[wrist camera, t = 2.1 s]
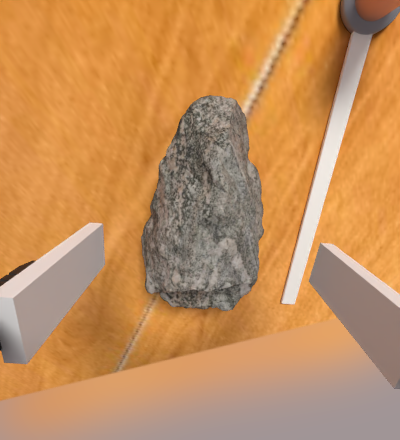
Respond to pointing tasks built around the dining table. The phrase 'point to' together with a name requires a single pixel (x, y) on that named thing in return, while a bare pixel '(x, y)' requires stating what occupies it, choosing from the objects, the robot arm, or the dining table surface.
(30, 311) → the robot arm
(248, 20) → the dining table surface
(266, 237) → the dining table surface
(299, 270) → the crank handle
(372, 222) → the dining table surface
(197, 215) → the rock
